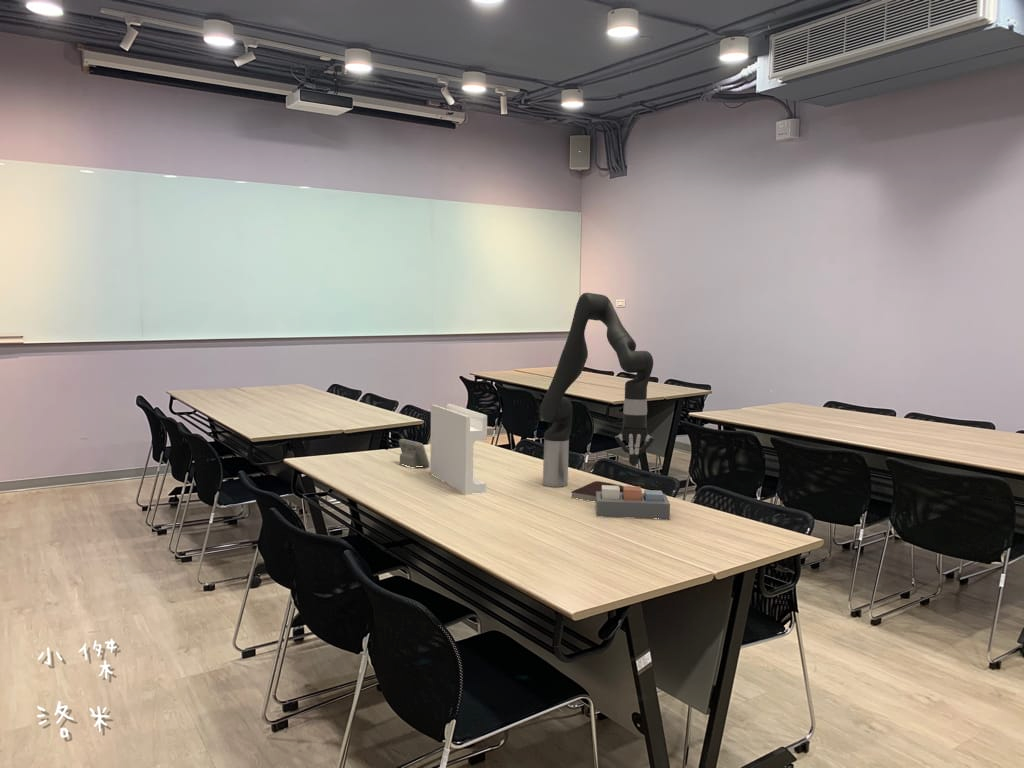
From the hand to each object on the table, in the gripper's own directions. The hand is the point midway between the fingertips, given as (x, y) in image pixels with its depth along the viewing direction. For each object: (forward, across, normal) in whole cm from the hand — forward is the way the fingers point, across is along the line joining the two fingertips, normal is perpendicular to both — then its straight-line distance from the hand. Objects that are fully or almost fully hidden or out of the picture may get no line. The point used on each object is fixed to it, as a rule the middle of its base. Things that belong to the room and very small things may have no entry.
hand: (633, 465), depth 239 cm
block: (+16, +63, -31) cm, 72 cm away
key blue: (+13, -7, 0) cm, 15 cm away
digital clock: (+16, +86, -59) cm, 105 cm away
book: (+16, +10, -21) cm, 29 cm away
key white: (+12, +7, 0) cm, 14 cm away
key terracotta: (+12, 0, 0) cm, 12 cm away
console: (+16, 0, 0) cm, 16 cm away
